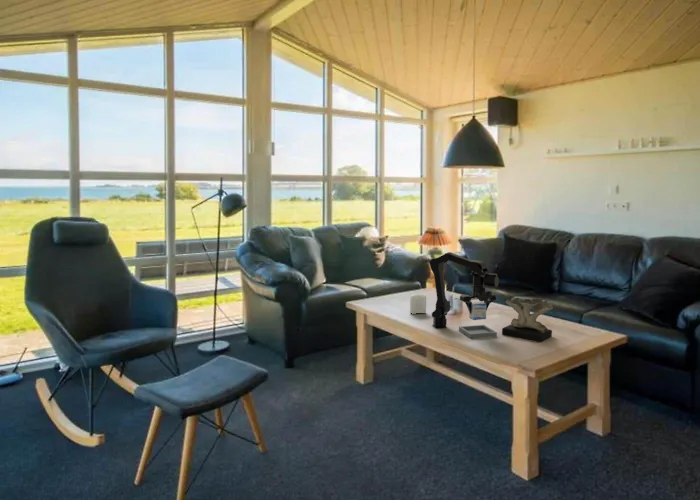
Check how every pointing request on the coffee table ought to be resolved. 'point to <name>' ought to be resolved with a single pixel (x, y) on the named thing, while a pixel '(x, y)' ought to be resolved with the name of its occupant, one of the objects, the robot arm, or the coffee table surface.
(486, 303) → the robot arm
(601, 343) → the coffee table surface
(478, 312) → the medicine box
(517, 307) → the coral
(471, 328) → the tray
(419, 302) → the photo printer
